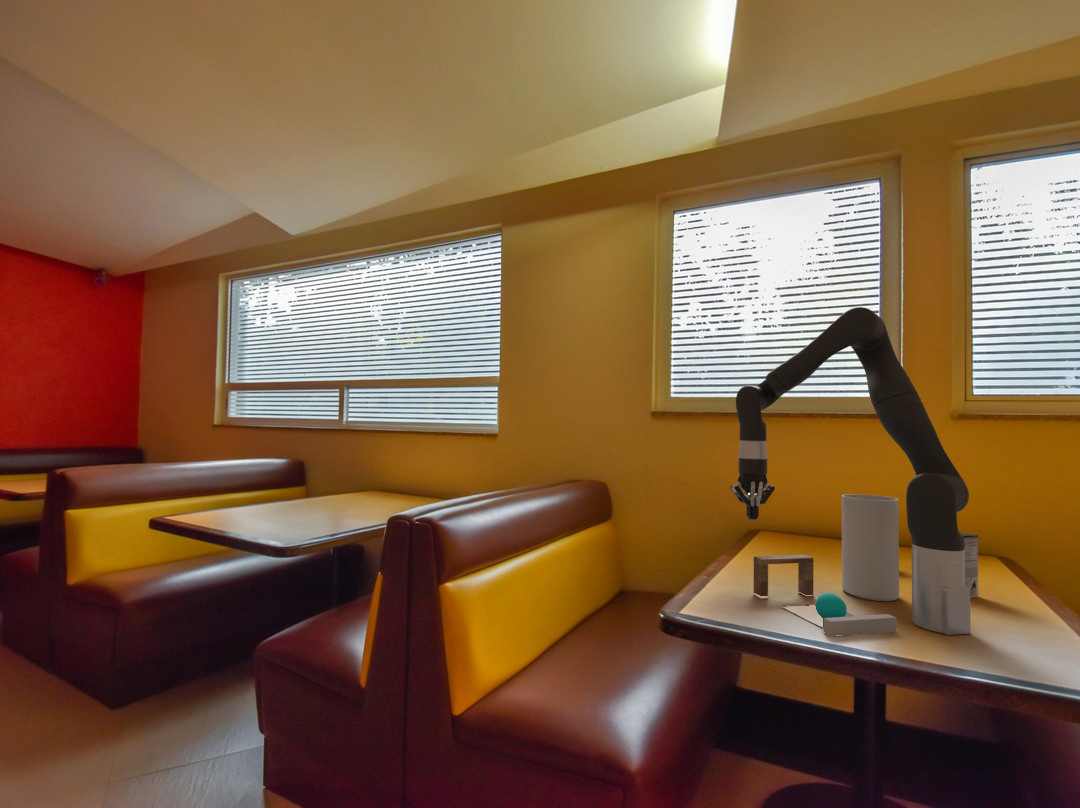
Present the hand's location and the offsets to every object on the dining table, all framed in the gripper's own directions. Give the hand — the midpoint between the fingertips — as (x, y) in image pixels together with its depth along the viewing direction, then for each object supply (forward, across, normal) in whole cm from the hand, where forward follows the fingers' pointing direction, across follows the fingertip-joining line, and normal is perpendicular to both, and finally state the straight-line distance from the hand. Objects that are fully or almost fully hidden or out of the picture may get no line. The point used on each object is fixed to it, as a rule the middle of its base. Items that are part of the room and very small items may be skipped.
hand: (752, 519), depth 146 cm
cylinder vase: (+17, +24, -15) cm, 33 cm away
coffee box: (+17, +48, -17) cm, 54 cm away
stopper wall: (+17, 0, -37) cm, 41 cm away
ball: (+14, -1, -30) cm, 34 cm away
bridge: (+17, 0, -13) cm, 21 cm away
